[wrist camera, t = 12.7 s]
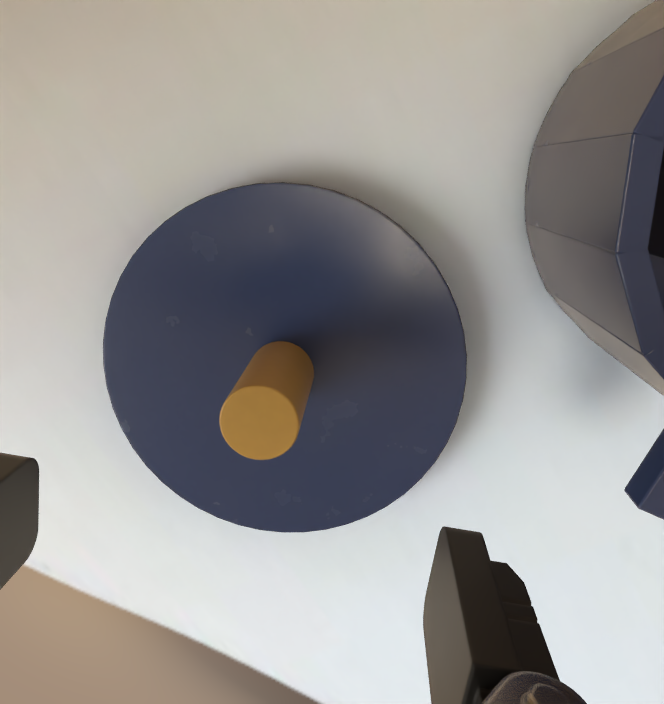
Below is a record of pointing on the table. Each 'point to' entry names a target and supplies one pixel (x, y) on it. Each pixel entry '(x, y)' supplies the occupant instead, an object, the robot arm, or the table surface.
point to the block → (658, 219)
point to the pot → (608, 209)
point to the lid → (284, 357)
